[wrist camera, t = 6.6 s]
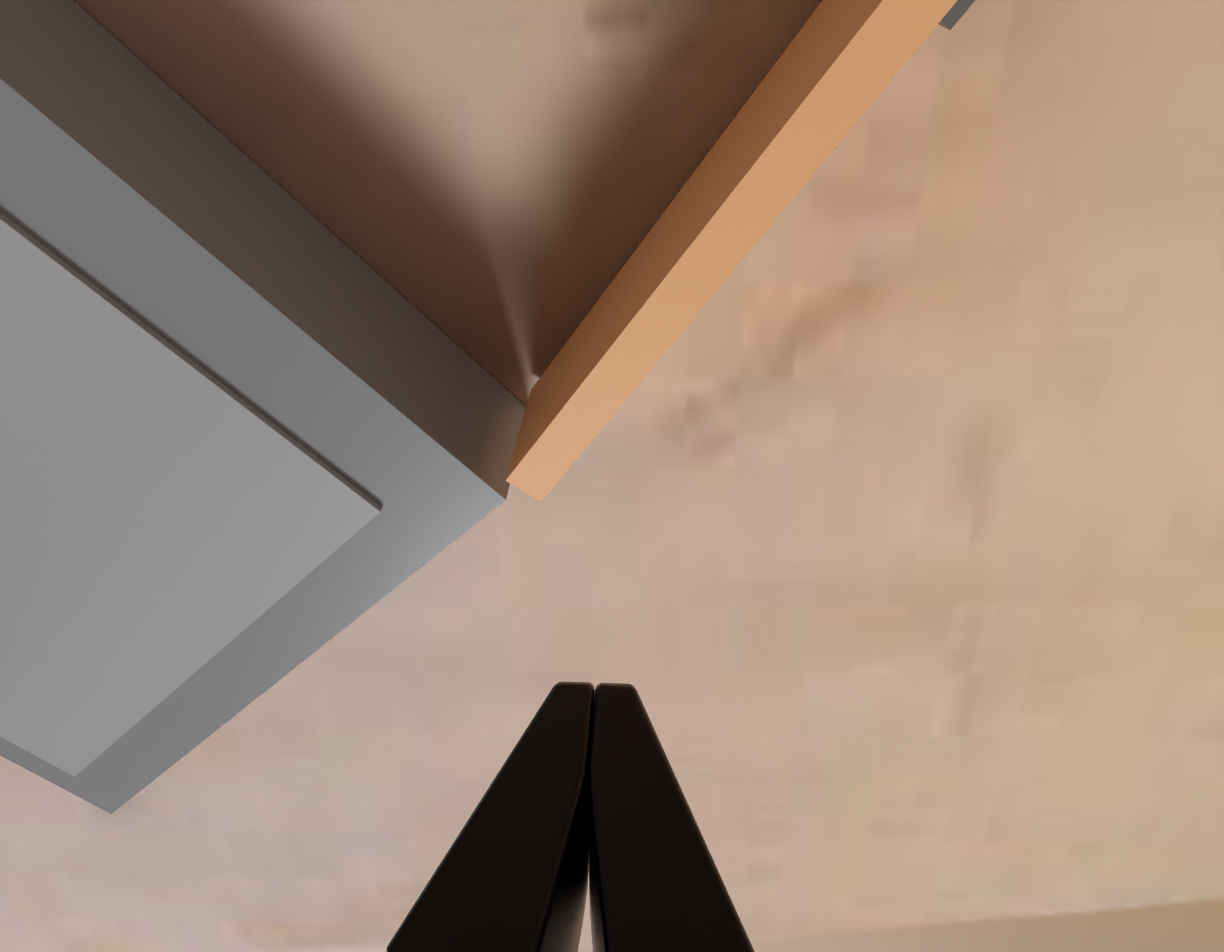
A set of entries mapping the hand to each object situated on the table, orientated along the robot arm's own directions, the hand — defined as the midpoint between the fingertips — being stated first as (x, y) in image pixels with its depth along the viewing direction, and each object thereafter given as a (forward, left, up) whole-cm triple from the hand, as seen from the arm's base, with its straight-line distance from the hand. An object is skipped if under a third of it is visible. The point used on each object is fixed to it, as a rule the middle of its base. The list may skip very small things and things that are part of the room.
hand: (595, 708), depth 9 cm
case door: (+3, +1, -11) cm, 11 cm away
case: (-11, +6, -11) cm, 17 cm away
